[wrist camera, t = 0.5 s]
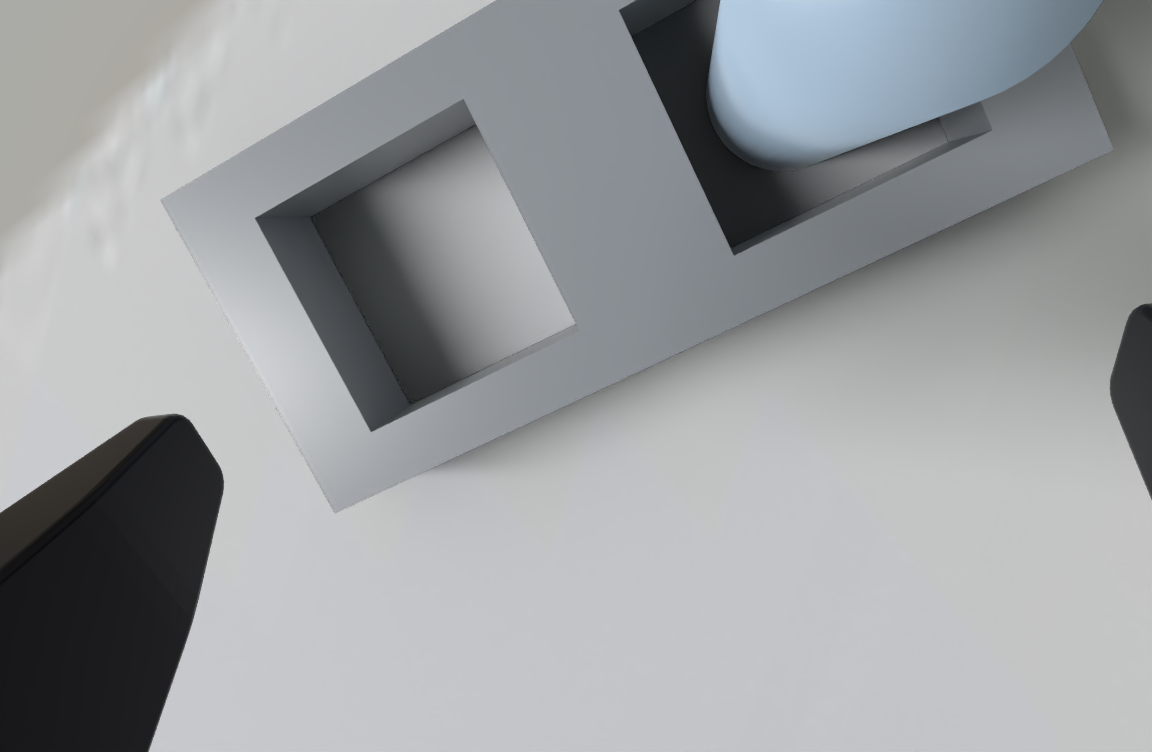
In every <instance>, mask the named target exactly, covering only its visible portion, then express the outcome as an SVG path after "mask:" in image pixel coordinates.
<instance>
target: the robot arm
mask: <svg viewBox="0 0 1152 752" xmlns="http://www.w3.org/2000/svg"><path fill="white" fill-rule="evenodd" d="M1110 395H1111V400H1112V404H1113V407H1114V409H1115V412H1116V414H1117V417H1118V419H1119V421H1120V424H1121V426H1122V429H1123V431H1124V434H1125V436H1126V438H1127V441H1128V443H1129V446H1130V448H1131V451H1132V453H1133V456H1134V458H1135V460H1136V463H1137V465H1138V468H1139V470H1140V473H1141V475H1142V477H1143V480H1144V482H1145V485H1146V487H1147V490H1148V492H1149V494H1150V497H1151V499H1152V303H1150V304H1143V305H1141V306H1139V307H1137V308H1136V309H1134V310H1133V311H1132V313H1131V314H1130V315H1129V318H1128V320H1127V323H1126V326H1125V330H1124V333H1123V337H1122V340H1121V344H1120V347H1119V351H1118V354H1117V358H1116V361H1115V364H1114V368H1113V371H1112V375H1111V380H1110ZM223 490H224V480H223V474H222V471H221V468H220V466H219V464H218V463H217V461H216V460H215V458H214V457H213V455H212V454H211V452H210V450H209V449H208V447H207V446H206V444H205V443H204V441H203V440H202V438H201V436H200V435H199V433H198V432H197V430H196V429H195V427H194V426H193V424H192V423H191V422H190V420H188V419H187V418H186V417H184V416H183V415H179V414H167V415H158V416H149V417H144V418H141V419H139V420H137V421H135V422H134V423H132V424H131V425H129V426H128V427H126V428H125V429H123V430H122V431H121V432H119V433H118V434H116V435H115V436H113V437H112V438H110V439H109V440H107V441H106V442H104V443H103V444H101V445H100V446H98V447H97V448H95V449H94V450H92V451H91V452H89V453H88V454H87V455H85V456H84V457H82V458H81V459H79V460H78V461H76V462H75V463H73V464H72V465H70V466H69V467H67V468H66V469H64V470H63V471H61V472H60V473H58V474H57V475H55V476H54V477H53V478H51V479H50V480H48V481H47V482H45V483H44V484H42V485H41V486H39V487H38V488H36V489H35V490H33V491H32V492H30V493H29V494H27V495H26V496H24V497H23V498H21V499H20V500H18V501H17V502H16V503H14V504H13V505H11V506H10V507H8V508H7V509H5V510H4V511H2V512H1V513H0V752H149V749H150V746H151V743H152V740H153V737H154V734H155V732H156V729H157V726H158V723H159V720H160V717H161V714H162V711H163V708H164V705H165V702H166V700H167V697H168V694H169V691H170V688H171V685H172V682H173V679H174V676H175V673H176V670H177V668H178V665H179V662H180V659H181V656H182V653H183V650H184V647H185V644H186V641H187V638H188V635H189V632H190V628H191V625H192V622H193V618H194V615H195V611H196V607H197V603H198V599H199V595H200V591H201V586H202V582H203V578H204V573H205V569H206V565H207V560H208V556H209V552H210V547H211V543H212V539H213V534H214V530H215V526H216V521H217V517H218V513H219V508H220V504H221V500H222V495H223Z"/></svg>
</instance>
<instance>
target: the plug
mask: <svg viewBox="0 0 1152 752" xmlns="http://www.w3.org/2000/svg"><path fill="white" fill-rule="evenodd" d="M1102 2H1103V0H720V6H719V12H718V19H717V25H716V31H715V37H714V44H713V50H712V56H711V62H710V69H709V75H708V81H707V95H706V97H707V107H708V111H709V116H710V119H711V122H712V124H713V127H714V129H715V131H716V133H717V134H718V136H719V138H720V139H721V140H722V142H723V143H724V144H725V145H726V147H727V148H728V149H729V150H730V151H731V152H733V153H734V154H735V155H736V156H738V157H739V158H740V159H742V160H744V161H746V162H747V163H749V164H752V165H754V166H757V167H760V168H764V169H768V170H776V171H788V170H795V169H800V168H804V167H808V166H810V165H813V164H816V163H818V162H821V161H824V160H826V159H829V158H831V157H834V156H837V155H839V154H842V153H845V152H847V151H850V150H853V149H855V148H858V147H861V146H863V145H866V144H868V143H871V142H874V141H876V140H879V139H882V138H884V137H887V136H890V135H892V134H895V133H897V132H900V131H903V130H905V129H908V128H911V127H913V126H916V125H919V124H921V123H924V122H927V121H929V120H932V119H934V118H937V117H940V116H942V115H945V114H948V113H950V112H953V111H956V110H958V109H961V108H963V107H966V106H969V105H971V104H974V103H977V102H979V101H982V100H984V99H986V98H989V97H991V96H994V95H996V94H999V93H1001V92H1003V91H1005V90H1007V89H1009V88H1010V87H1012V86H1014V85H1016V84H1018V83H1019V82H1021V81H1023V80H1025V79H1027V78H1028V77H1029V76H1031V75H1032V74H1033V73H1035V72H1036V71H1038V70H1039V69H1040V68H1042V67H1043V66H1045V65H1046V64H1047V63H1049V62H1050V61H1051V60H1052V59H1053V58H1054V57H1055V56H1056V55H1058V54H1059V53H1060V52H1061V51H1062V50H1063V49H1064V48H1065V47H1066V46H1067V45H1068V44H1070V43H1071V41H1072V40H1073V39H1074V38H1075V37H1076V36H1077V35H1078V33H1079V32H1080V31H1081V30H1082V29H1083V28H1084V26H1085V25H1086V24H1087V23H1088V22H1089V21H1090V19H1091V18H1092V16H1093V15H1094V13H1095V12H1096V10H1097V9H1098V7H1099V6H1100V5H1101V3H1102Z"/></svg>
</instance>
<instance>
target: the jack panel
mask: <svg viewBox="0 0 1152 752" xmlns="http://www.w3.org/2000/svg"><path fill="white" fill-rule="evenodd" d="M694 1H696V0H496V1H494V2H493V3H491V4H489V5H488V6H486V7H484V8H483V9H481V10H479V11H477V12H476V13H474V14H472V15H471V16H469V17H467V18H466V19H464V20H462V21H461V22H459V23H457V24H456V25H454V26H452V27H451V28H449V29H447V30H446V31H444V32H442V33H440V34H439V35H437V36H435V37H434V38H432V39H430V40H429V41H427V42H425V43H424V44H422V45H420V46H419V47H417V48H415V49H414V50H412V51H410V52H409V53H407V54H405V55H403V56H402V57H400V58H398V59H397V60H395V61H393V62H392V63H390V64H388V65H387V66H385V67H383V68H382V69H380V70H378V71H377V72H375V73H373V74H372V75H370V76H368V77H366V78H365V79H363V80H361V81H360V82H358V83H356V84H355V85H353V86H351V87H350V88H348V89H346V90H345V91H343V92H341V93H340V94H338V95H336V96H335V97H333V98H331V99H329V100H328V101H326V102H324V103H323V104H321V105H319V106H318V107H316V108H314V109H313V110H311V111H309V112H308V113H306V114H304V115H303V116H301V117H299V118H298V119H296V120H294V121H292V122H291V123H289V124H287V125H286V126H284V127H282V128H281V129H279V130H277V131H276V132H274V133H272V134H271V135H269V136H267V137H266V138H264V139H262V140H261V141H259V142H257V143H256V144H254V145H252V146H250V147H249V148H247V149H245V150H244V151H242V152H240V153H239V154H237V155H235V156H234V157H232V158H230V159H229V160H227V161H225V162H224V163H222V164H220V165H219V166H217V167H215V168H213V169H212V170H210V171H208V172H207V173H205V174H203V175H202V176H200V177H198V178H197V179H195V180H193V181H192V182H190V183H188V184H187V185H185V186H183V187H182V188H180V189H178V190H176V191H175V192H173V193H171V194H170V195H168V196H166V197H165V198H163V199H161V200H160V201H161V202H162V204H163V206H164V208H165V209H166V211H167V213H168V215H169V217H170V218H171V220H172V222H173V224H174V226H175V227H176V229H177V231H178V233H179V235H180V236H181V238H182V240H183V242H184V244H185V245H186V247H187V249H188V251H189V253H190V254H191V256H192V258H193V260H194V262H195V263H196V265H197V267H198V269H199V271H200V272H201V274H202V276H203V278H204V280H205V281H206V283H207V285H208V287H209V289H210V290H211V292H212V294H213V296H214V298H215V299H216V301H217V303H218V305H219V306H220V308H221V310H222V312H223V314H224V315H225V317H226V319H227V321H228V323H229V324H230V326H231V328H232V330H233V332H234V333H235V335H236V337H237V339H238V341H239V342H240V344H241V346H242V348H243V350H244V351H245V353H246V355H247V357H248V359H249V360H250V362H251V364H252V366H253V368H254V369H255V371H256V373H257V375H258V377H259V378H260V380H261V382H262V384H263V386H264V387H265V389H266V391H267V393H268V395H269V396H270V398H271V400H272V402H273V403H274V405H275V407H276V409H277V411H278V412H279V414H280V416H281V418H282V420H283V421H284V423H285V425H286V427H287V429H288V430H289V432H290V434H291V436H292V438H293V439H294V441H295V443H296V445H297V447H298V448H299V450H300V452H301V454H302V456H303V457H304V459H305V461H306V463H307V465H308V466H309V468H310V470H311V472H312V474H313V475H314V477H315V479H316V481H317V483H318V484H319V486H320V488H321V490H322V491H323V493H324V495H325V497H326V499H327V500H328V502H329V504H330V506H331V508H332V509H333V511H334V513H337V512H339V511H341V510H343V509H345V508H348V507H350V506H352V505H354V504H356V503H358V502H360V501H363V500H365V499H367V498H369V497H371V496H373V495H375V494H378V493H380V492H382V491H384V490H386V489H388V488H390V487H393V486H395V485H397V484H399V483H401V482H403V481H405V480H408V479H410V478H412V477H414V476H416V475H418V474H420V473H423V472H425V471H427V470H429V469H431V468H433V467H435V466H438V465H440V464H442V463H444V462H446V461H448V460H450V459H453V458H455V457H457V456H459V455H461V454H463V453H465V452H468V451H470V450H472V449H474V448H476V447H478V446H481V445H483V444H485V443H487V442H489V441H491V440H493V439H496V438H498V437H500V436H502V435H504V434H506V433H508V432H511V431H513V430H515V429H517V428H519V427H521V426H523V425H526V424H528V423H530V422H532V421H534V420H536V419H538V418H541V417H543V416H545V415H547V414H549V413H551V412H553V411H556V410H558V409H560V408H562V407H564V406H566V405H568V404H571V403H573V402H575V401H577V400H579V399H581V398H583V397H586V396H588V395H590V394H592V393H594V392H596V391H598V390H601V389H603V388H605V387H607V386H609V385H611V384H613V383H616V382H618V381H620V380H622V379H624V378H626V377H628V376H631V375H633V374H635V373H637V372H639V371H641V370H643V369H646V368H648V367H650V366H652V365H654V364H656V363H658V362H661V361H663V360H665V359H667V358H669V357H671V356H673V355H676V354H678V353H680V352H682V351H684V350H686V349H688V348H691V347H693V346H695V345H697V344H699V343H701V342H703V341H706V340H708V339H710V338H712V337H714V336H716V335H718V334H721V333H723V332H725V331H727V330H729V329H731V328H733V327H736V326H738V325H740V324H742V323H744V322H746V321H748V320H751V319H753V318H755V317H757V316H759V315H761V314H763V313H766V312H768V311H770V310H772V309H774V308H776V307H778V306H781V305H783V304H785V303H787V302H789V301H791V300H793V299H796V298H798V297H800V296H802V295H804V294H806V293H808V292H811V291H813V290H815V289H817V288H819V287H821V286H823V285H826V284H828V283H830V282H832V281H834V280H836V279H838V278H841V277H843V276H845V275H847V274H849V273H851V272H853V271H856V270H858V269H860V268H862V267H864V266H866V265H868V264H871V263H873V262H875V261H877V260H879V259H881V258H883V257H886V256H888V255H890V254H892V253H894V252H896V251H898V250H901V249H903V248H905V247H907V246H909V245H911V244H913V243H916V242H918V241H920V240H922V239H924V238H926V237H928V236H931V235H933V234H935V233H937V232H939V231H941V230H943V229H946V228H948V227H950V226H952V225H954V224H956V223H958V222H961V221H963V220H965V219H967V218H969V217H971V216H973V215H976V214H978V213H980V212H982V211H984V210H986V209H988V208H991V207H993V206H995V205H997V204H999V203H1001V202H1003V201H1006V200H1008V199H1010V198H1012V197H1014V196H1016V195H1018V194H1021V193H1023V192H1025V191H1027V190H1029V189H1031V188H1033V187H1036V186H1038V185H1040V184H1042V183H1044V182H1046V181H1049V180H1051V179H1053V178H1055V177H1057V176H1059V175H1061V174H1064V173H1066V172H1068V171H1070V170H1072V169H1074V168H1076V167H1079V166H1081V165H1083V164H1085V163H1087V162H1089V161H1091V160H1094V159H1096V158H1098V157H1100V156H1102V155H1104V154H1106V153H1109V152H1111V151H1113V150H1114V149H1113V146H1112V144H1111V141H1110V139H1109V136H1108V134H1107V131H1106V129H1105V127H1104V124H1103V122H1102V119H1101V117H1100V114H1099V112H1098V109H1097V107H1096V104H1095V102H1094V99H1093V97H1092V94H1091V92H1090V89H1089V87H1088V84H1087V82H1086V79H1085V77H1084V74H1083V72H1082V69H1081V67H1080V64H1079V62H1078V59H1077V57H1076V54H1075V52H1074V49H1073V47H1072V44H1071V43H1070V44H1068V45H1067V46H1066V47H1065V48H1064V49H1063V50H1062V51H1061V52H1060V53H1059V54H1058V55H1056V56H1055V57H1054V58H1053V59H1052V60H1051V61H1050V62H1049V63H1047V64H1046V65H1045V66H1043V67H1042V68H1040V69H1039V70H1038V71H1036V72H1035V73H1033V74H1032V75H1031V76H1029V77H1028V78H1027V79H1025V80H1023V81H1021V82H1019V83H1018V84H1016V85H1014V86H1012V87H1010V88H1009V89H1007V90H1005V91H1003V92H1001V93H999V94H996V95H994V96H991V97H989V98H986V99H984V100H982V101H979V102H977V103H974V104H971V105H969V106H966V107H963V108H961V109H958V110H956V111H953V112H950V113H948V114H945V115H942V116H940V117H938V118H939V120H940V123H941V125H942V127H943V130H944V132H945V134H946V137H947V139H948V141H949V142H948V143H946V144H943V145H941V146H939V147H937V148H935V149H933V150H931V151H929V152H927V153H925V154H923V155H921V156H919V157H917V158H915V159H913V160H911V161H909V162H907V163H905V164H903V165H900V166H898V167H896V168H894V169H892V170H890V171H888V172H886V173H884V174H882V175H880V176H878V177H876V178H874V179H872V180H870V181H868V182H866V183H864V184H862V185H860V186H857V187H855V188H853V189H851V190H849V191H847V192H845V193H843V194H841V195H839V196H837V197H835V198H833V199H831V200H829V201H827V202H825V203H823V204H821V205H819V206H817V207H814V208H812V209H810V210H808V211H806V212H804V213H802V214H800V215H798V216H796V217H794V218H792V219H790V220H788V221H786V222H784V223H782V224H780V225H778V226H776V227H774V228H772V229H769V230H767V231H765V232H763V233H761V234H759V235H757V236H755V237H753V238H751V239H749V240H747V241H745V242H743V243H741V244H739V245H737V246H735V247H733V248H731V249H730V246H729V244H728V242H727V240H726V238H725V236H724V234H723V232H722V229H721V227H720V225H719V223H718V221H717V219H716V217H715V214H714V212H713V210H712V208H711V206H710V204H709V202H708V200H707V197H706V195H705V193H704V191H703V189H702V187H701V185H700V183H699V180H698V178H697V176H696V174H695V172H694V170H693V168H692V165H691V163H690V161H689V159H688V157H687V155H686V153H685V151H684V148H683V146H682V144H681V142H680V140H679V138H678V136H677V133H676V131H675V129H674V127H673V125H672V123H671V121H670V119H669V116H668V114H667V112H666V110H665V108H664V106H663V104H662V102H661V99H660V97H659V95H658V93H657V91H656V89H655V87H654V84H653V82H652V80H651V78H650V76H649V74H648V72H647V70H646V67H645V65H644V63H643V61H642V59H641V57H640V55H639V53H638V50H637V48H636V46H635V44H634V42H633V40H632V38H631V37H632V36H633V35H635V34H637V33H639V32H641V31H642V30H644V29H646V28H648V27H649V26H651V25H653V24H655V23H657V22H658V21H660V20H662V19H664V18H665V17H667V16H669V15H671V14H673V13H674V12H676V11H678V10H680V9H681V8H683V7H685V6H687V5H689V4H690V3H692V2H694ZM475 124H476V125H477V127H478V129H479V131H480V133H481V135H482V137H483V139H484V141H485V143H486V145H487V147H488V149H489V151H490V153H491V155H492V157H493V159H494V161H495V163H496V165H497V167H498V169H499V171H500V173H501V175H502V177H503V179H504V181H505V183H506V185H507V187H508V189H509V191H510V193H511V195H512V197H513V199H514V201H515V203H516V205H517V207H518V209H519V211H520V213H521V215H522V217H523V219H524V221H525V223H526V225H527V227H528V229H529V231H530V233H531V235H532V237H533V239H534V241H535V243H536V245H537V247H538V249H539V251H540V253H541V255H542V257H543V259H544V261H545V263H546V265H547V267H548V269H549V271H550V273H551V275H552V277H553V279H554V281H555V283H556V285H557V287H558V289H559V291H560V293H561V295H562V297H563V299H564V301H565V303H566V305H567V307H568V309H569V311H570V313H571V315H572V317H573V319H574V321H575V323H576V324H575V325H573V326H571V327H569V328H567V329H565V330H563V331H561V332H559V333H557V334H555V335H552V336H550V337H548V338H546V339H544V340H542V341H540V342H538V343H536V344H534V345H532V346H530V347H528V348H526V349H524V350H522V351H520V352H518V353H516V354H514V355H512V356H510V357H507V358H505V359H503V360H501V361H499V362H497V363H495V364H493V365H491V366H489V367H487V368H485V369H483V370H481V371H479V372H477V373H475V374H473V375H471V376H469V377H467V378H464V379H462V380H460V381H458V382H456V383H454V384H452V385H450V386H448V387H446V388H444V389H442V390H440V391H438V392H436V393H434V394H432V395H430V396H428V397H426V398H424V399H421V400H419V401H417V402H415V403H413V404H411V405H410V404H409V402H408V400H407V399H406V397H405V395H404V393H403V391H402V389H401V387H400V385H399V384H398V382H397V380H396V378H395V376H394V374H393V372H392V370H391V369H390V367H389V365H388V363H387V361H386V359H385V357H384V355H383V354H382V352H381V350H380V348H379V346H378V344H377V342H376V341H375V339H374V337H373V335H372V333H371V331H370V329H369V327H368V326H367V324H366V322H365V320H364V318H363V316H362V314H361V312H360V311H359V309H358V307H357V305H356V303H355V301H354V299H353V297H352V296H351V294H350V292H349V290H348V288H347V286H346V284H345V282H344V281H343V279H342V277H341V275H340V273H339V271H338V269H337V268H336V266H335V264H334V262H333V260H332V258H331V256H330V254H329V253H328V251H327V249H326V247H325V245H324V243H323V241H322V239H321V238H320V236H319V234H318V232H317V230H316V228H315V226H314V224H313V223H312V221H311V219H310V217H311V216H313V215H315V214H317V213H318V212H320V211H322V210H324V209H325V208H327V207H329V206H331V205H333V204H334V203H336V202H338V201H340V200H341V199H343V198H345V197H347V196H349V195H350V194H352V193H354V192H356V191H357V190H359V189H361V188H363V187H365V186H366V185H368V184H370V183H372V182H374V181H375V180H377V179H379V178H381V177H382V176H384V175H386V174H388V173H390V172H391V171H393V170H395V169H397V168H398V167H400V166H402V165H404V164H406V163H407V162H409V161H411V160H413V159H414V158H416V157H418V156H420V155H422V154H423V153H425V152H427V151H429V150H430V149H432V148H434V147H436V146H438V145H439V144H441V143H443V142H445V141H446V140H448V139H450V138H452V137H454V136H455V135H457V134H459V133H461V132H463V131H464V130H466V129H468V128H470V127H471V126H473V125H475Z"/></svg>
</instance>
